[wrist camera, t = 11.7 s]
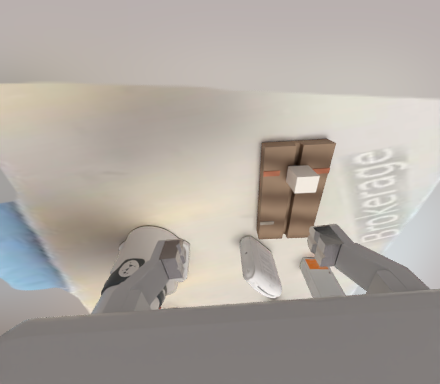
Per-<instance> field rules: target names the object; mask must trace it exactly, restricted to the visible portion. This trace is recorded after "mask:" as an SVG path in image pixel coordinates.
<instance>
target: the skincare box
mask: <svg viewBox="0 0 440 384" xmlns="http://www.w3.org/2000/svg"><path fill="white" fill-rule="evenodd" d="M300 269H301V271H302V274H303V276H304V278H305V281H306V283H307V285H308V288H309V290H310V292H311V295H312V297H313V298H321V297H335V296H346V295H345V293H344V291H343V290H342V288H341V286H340V285H339V283H338V281H337V279H336V278H335V276H334V274H333V273H332V271H331V269H330V267H329V266H328V267H320V266H319V265H318V263H317V261H316V259H315V258H303V259H302V262H301V265H300Z"/></svg>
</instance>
